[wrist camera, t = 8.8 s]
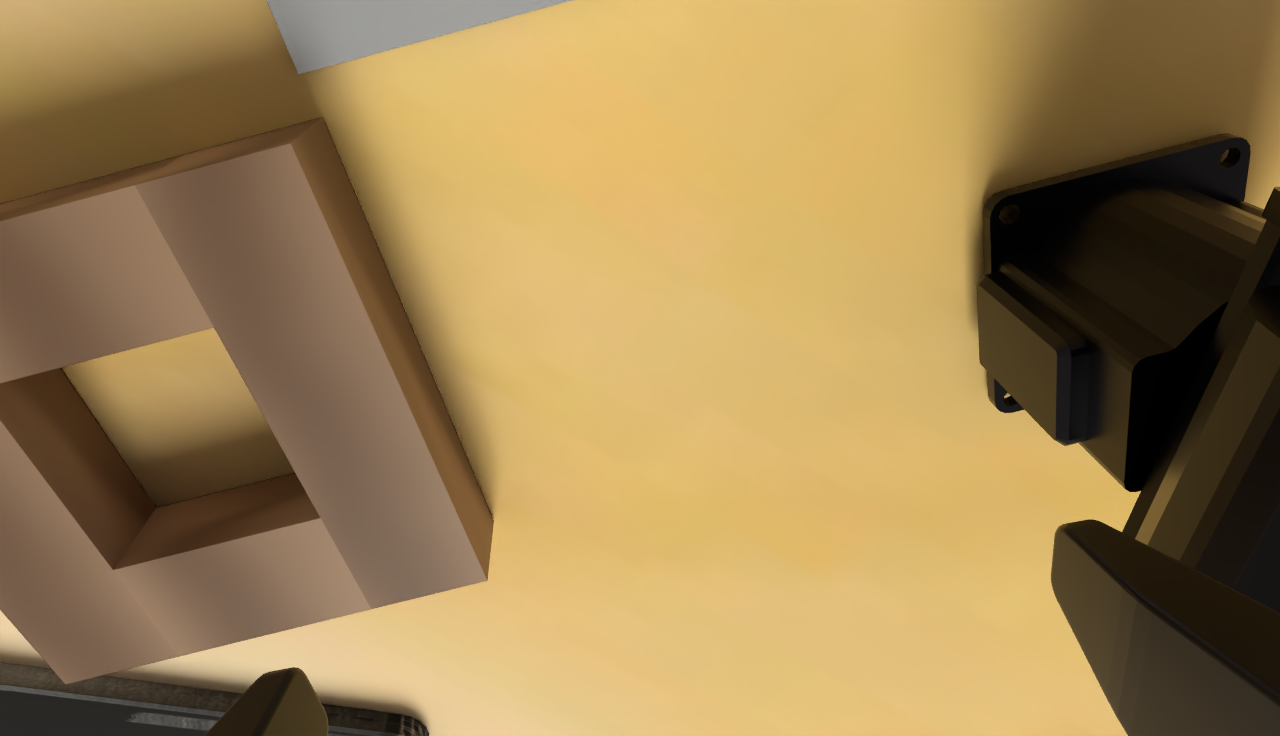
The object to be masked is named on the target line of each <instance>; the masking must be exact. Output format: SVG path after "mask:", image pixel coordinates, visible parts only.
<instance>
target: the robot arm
mask: <svg viewBox="0 0 1280 736" xmlns="http://www.w3.org/2000/svg"><path fill="white" fill-rule="evenodd" d="M1228 149H1229V153H1228V155H1227V157H1226V158H1225V159H1224V161H1222V162H1220V158H1221V156H1222V154H1223V153H1224V152H1225V151H1226V150H1228ZM1249 160H1250V145H1249V143H1248V142H1247V140H1245V139H1243V138H1240V137H1237V136H1234V135H1231V134H1220V135H1216V136H1212V137H1208V138H1204V139H1201V140H1197V141H1193V142H1189V143H1185V144H1181V145H1177V146H1173V147H1170V148H1166V149H1162V150H1158V151H1154V152H1150V153H1146V154H1142V155H1138V156H1135V157H1131V158H1127V159H1123V160H1119V161H1115V162H1111V163H1107V164H1104V165H1100V166H1096V167H1092V168H1088V169H1084V170H1080V171H1076V172H1073V173H1069V174H1065V175H1061V176H1057V177H1053V178H1049V179H1045V180H1042V181H1038V182H1034V183H1030V184H1026V185H1022V186H1018V187H1014V188H1011V189H1007V190H1003V191H1000V192H998V193H996V194H994V195H993V196H992V197H990V198H989V199H988V201H987V202H986V204H985V206H984V209H983V248H984V275H983V276H982V277H981V279H980V281H979V283H978V285H977V302H978V330H979V358H980V363H981V365H982V366H983V367H984V368H985V369H986V370H987V377H988V397H989V400H990V401H991V402H992V403H993V405H994V406H995V407H996V408H997V409H998V410H999V411H1001V412H1004V413H1012V412H1016V411H1020V410H1024V409H1025V410H1026V411H1027V412H1028V413H1029V415H1030V416H1031V417H1032V418H1033V419H1034V420H1035V421H1036V422H1037V423H1038V424H1039V425H1040V426H1041V427H1042V428H1043V429H1044V430H1045V431H1046V432H1047V433H1048V434H1049V435H1050V436H1051V437H1052V438H1053V439H1054V440H1056V441H1057V442H1059V443H1061V444H1062V445H1064V446H1067V445H1071V444H1075V443H1079V444H1080V445H1081V446H1082V447H1083V448H1084V449H1085V450H1086V451H1087V452H1088V453H1089V454H1090V455H1091V456H1092V457H1093V458H1094V459H1095V460H1096V461H1097V462H1098V463H1099V464H1100V465H1101V466H1103V467H1104V468H1105V469H1106V470H1107V471H1108V472H1109V473H1110V474H1111V475H1112V476H1113V477H1114V478H1115V479H1116V480H1117V481H1118V482H1119V483H1120V484H1121V485H1122V486H1123V487H1124V488H1125V489H1126V490H1128V491H1129V492H1138V491H1141V493H1140V495H1139V497H1138V499H1137V501H1136V503H1135V506H1134V508H1133V510H1132V512H1131V514H1130V516H1129V519H1128V521H1127V523H1126V525H1125V527H1124V529H1123V532H1120V531H1118V530H1116V529H1114V528H1112V527H1110V526H1108V525H1106V524H1104V523H1102V522H1100V521H1097V520H1084V521H1078V522H1073V523H1067V524H1063V525H1061V526H1059V527H1058V528H1057V530H1056V532H1055V538H1054V548H1053V559H1052V570H1051V583H1052V587H1053V591H1054V594H1055V596H1056V599H1057V601H1058V603H1059V605H1060V607H1061V609H1062V611H1063V613H1064V615H1065V617H1066V619H1067V621H1068V623H1069V625H1070V626H1071V628H1072V630H1073V632H1074V634H1075V636H1076V638H1077V640H1078V642H1079V644H1080V646H1081V648H1082V650H1083V652H1084V654H1085V656H1086V658H1087V660H1088V662H1089V664H1090V666H1091V668H1092V670H1093V672H1094V674H1095V676H1096V678H1097V680H1098V682H1099V684H1100V686H1101V688H1102V690H1103V692H1104V694H1105V696H1106V698H1107V700H1108V702H1109V703H1110V705H1111V707H1112V709H1113V711H1114V713H1115V715H1116V717H1117V718H1118V720H1119V722H1120V723H1121V725H1122V726H1123V728H1124V730H1125V731H1126V733H1127V735H1128V736H1280V187H1274V189H1273V191H1272V194H1271V196H1270V198H1269V200H1268V202H1267V204H1266V207H1265V209H1261V208H1259V207H1256V206H1254V205H1251V204H1249V203H1246V202H1244V198H1245V190H1246V183H1247V175H1248V168H1249ZM1008 205H1012V209H1011V213H1010V214H1009V215H1008V216H1007V217H1006V218H1004V219H1000V218H999V217H1000V213H1001V211H1002V210H1003V208H1004V207H1006V206H1008ZM1007 392H1008V393H1009V394H1010V395H1011V396H1009V397H1007V398H1004V396H1005V395H1006V393H1007ZM204 736H328V719H327V715H326V711H325V709H324V707H323V705H322V703H321V702H320V700H319V698H318V696H317V694H316V693H315V691H314V689H313V687H312V685H311V683H310V682H309V680H308V678H307V676H306V675H305V673H304V672H303V671H302V670H301V669H299V668H294V667H293V668H288V669H282V670H277V671H272V672H268V673H265V674H263V675H262V676H260V677H259V678H258V679H257V680H256V681H255V682H254V683H253V684H252V685H251V686H250V687H249V689H248V690H247V691H246V692H245V693H244V694H243V695H242V696H241V697H240V698H239V699H238V700H237V701H236V702H235V703H234V704H233V705H232V706H231V708H230V709H229V710H228V711H227V712H226V713H225V714H224V715H223V716H222V717H221V718H220V719H219V720H218V721H217V722H216V723H215V724H214V725H213V726H212V728H211V729H210V730H209V731H208V732H207V733H206V734H205V735H204Z"/></svg>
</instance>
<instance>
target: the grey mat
mask: <svg viewBox="0 0 1280 736" xmlns="http://www.w3.org/2000/svg"><path fill="white" fill-rule="evenodd" d="M568 1H572V0H267V2H268V5H269V7H270V10H271V12H272V14H273V17H274V19H275V21H276V24H277V26H278V28H279V31H280V33H281V35H282V38H283V40H284V42H285V45H286V47H287V49H288V52H289V54H290V56H291V59H292V61H293V63H294V66H295V68H296V70H297V73H298V75H299V74H303V73H306V72H310V71H314V70H317V69H321V68H325V67H329V66H332V65H336V64H340V63H343V62H347V61H351V60H354V59H358V58H362V57H365V56H369V55H373V54H376V53H380V52H384V51H387V50H391V49H395V48H399V47H402V46H406V45H410V44H413V43H417V42H421V41H424V40H428V39H432V38H435V37H439V36H443V35H446V34H450V33H454V32H457V31H461V30H465V29H468V28H472V27H476V26H480V25H483V24H487V23H491V22H494V21H498V20H502V19H505V18H509V17H513V16H516V15H520V14H524V13H527V12H531V11H535V10H538V9H542V8H546V7H549V6H553V5H557V4H561V3H564V2H568Z"/></svg>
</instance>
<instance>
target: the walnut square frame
mask: <svg viewBox="0 0 1280 736" xmlns="http://www.w3.org/2000/svg"><path fill="white" fill-rule="evenodd" d="M210 328H215V330H216V332H217V334H218V335H219V337H220V339H221V341H222V343H223V344H224V346H225V348H226V350H227V351H228V353H229V355H230V357H231V359H232V360H233V362H234V364H235V366H236V368H237V369H238V371H239V373H240V375H241V377H242V378H243V380H244V382H245V384H246V385H247V387H248V389H249V391H250V393H251V394H252V396H253V398H254V400H255V402H256V403H257V405H258V407H259V409H260V411H261V412H262V414H263V416H264V418H265V419H266V421H267V423H268V425H269V427H270V428H271V430H272V432H273V434H274V436H275V437H276V439H277V441H278V443H279V445H280V446H281V448H282V450H283V452H284V453H285V455H286V457H287V459H288V461H289V462H290V464H291V466H292V468H293V470H294V471H295V473H293V474H289V475H285V476H281V477H277V478H273V479H269V480H265V481H261V482H258V483H254V484H250V485H246V486H242V487H238V488H234V489H230V490H226V491H222V492H218V493H214V494H210V495H206V496H202V497H198V498H194V499H190V500H186V501H182V502H179V503H175V504H171V505H167V506H163V507H159V508H155V506H154V505H153V503H152V502H151V500H150V499H149V498H148V496H147V495H146V493H145V492H144V490H143V489H142V487H141V486H140V484H139V483H138V481H137V480H136V478H135V477H134V476H133V474H132V473H131V471H130V470H129V468H128V467H127V465H126V464H125V462H124V461H123V459H122V458H121V457H120V455H119V454H118V452H117V451H116V449H115V448H114V446H113V445H112V443H111V442H110V440H109V439H108V437H107V436H106V435H105V433H104V432H103V430H102V429H101V427H100V426H99V424H98V423H97V421H96V420H95V418H94V417H93V416H92V414H91V413H90V411H89V410H88V408H87V407H86V405H85V404H84V402H83V401H82V399H81V398H80V397H79V395H78V394H77V392H76V391H75V389H74V388H73V386H72V385H71V383H70V382H69V380H68V379H67V377H66V376H65V375H64V373H63V372H62V370H61V369H60V368H61V367H64V366H68V365H72V364H76V363H80V362H84V361H87V360H91V359H95V358H99V357H103V356H107V355H110V354H114V353H118V352H122V351H126V350H130V349H133V348H137V347H141V346H145V345H149V344H153V343H156V342H160V341H164V340H168V339H172V338H176V337H179V336H183V335H187V334H191V333H195V332H199V331H202V330H206V329H210ZM493 523H494V520H493V518H492V516H491V513H490V511H489V509H488V506H487V504H486V502H485V499H484V497H483V494H482V492H481V490H480V487H479V485H478V483H477V480H476V478H475V476H474V473H473V471H472V468H471V466H470V464H469V461H468V459H467V457H466V454H465V452H464V450H463V447H462V445H461V443H460V440H459V438H458V435H457V433H456V431H455V428H454V426H453V424H452V421H451V419H450V417H449V414H448V412H447V409H446V407H445V405H444V402H443V400H442V398H441V395H440V393H439V391H438V388H437V386H436V383H435V381H434V379H433V376H432V374H431V372H430V369H429V367H428V365H427V362H426V360H425V358H424V355H423V353H422V350H421V348H420V346H419V343H418V341H417V339H416V336H415V334H414V332H413V329H412V327H411V324H410V322H409V320H408V317H407V315H406V313H405V310H404V308H403V306H402V303H401V301H400V298H399V296H398V294H397V291H396V289H395V287H394V284H393V282H392V280H391V277H390V275H389V273H388V270H387V268H386V265H385V263H384V261H383V258H382V256H381V254H380V251H379V249H378V247H377V244H376V242H375V239H374V237H373V235H372V232H371V230H370V228H369V225H368V223H367V221H366V218H365V216H364V213H363V211H362V209H361V206H360V204H359V202H358V199H357V197H356V195H355V192H354V190H353V188H352V185H351V183H350V180H349V178H348V176H347V173H346V171H345V169H344V166H343V164H342V162H341V159H340V157H339V154H338V152H337V150H336V147H335V145H334V143H333V140H332V138H331V136H330V133H329V131H328V128H327V126H326V124H325V121H324V119H323V117H322V118H318V119H315V120H311V121H307V122H303V123H300V124H296V125H292V126H289V127H285V128H281V129H277V130H274V131H270V132H266V133H263V134H259V135H255V136H251V137H248V138H244V139H240V140H237V141H233V142H229V143H225V144H222V145H218V146H214V147H211V148H207V149H203V150H199V151H196V152H192V153H188V154H185V155H181V156H177V157H173V158H170V159H166V160H162V161H159V162H155V163H151V164H148V165H144V166H140V167H136V168H133V169H129V170H125V171H122V172H118V173H114V174H110V175H107V176H103V177H99V178H96V179H92V180H88V181H84V182H81V183H77V184H73V185H70V186H66V187H62V188H58V189H55V190H51V191H47V192H44V193H40V194H36V195H32V196H29V197H25V198H21V199H18V200H14V201H10V202H6V203H3V204H0V610H1V611H2V612H3V613H4V615H5V616H6V617H7V618H8V619H9V620H10V621H11V623H12V624H13V625H14V626H15V627H16V628H17V629H18V631H19V632H20V633H21V634H22V635H23V636H24V637H25V639H26V640H27V641H28V642H29V643H30V644H31V645H32V647H33V648H34V649H35V650H36V651H37V652H38V653H39V655H40V656H41V657H42V658H43V659H44V660H45V661H46V663H47V664H48V665H49V666H50V667H51V668H52V669H53V671H54V672H55V673H56V674H57V675H58V676H59V677H60V679H61V680H62V681H63V682H64V683H65V684H69V683H73V682H77V681H81V680H85V679H89V678H94V677H98V676H102V675H106V674H110V673H114V672H118V671H122V670H126V669H130V668H134V667H138V666H142V665H146V664H150V663H154V662H159V661H163V660H167V659H171V658H175V657H179V656H183V655H187V654H191V653H195V652H199V651H203V650H207V649H211V648H215V647H219V646H224V645H228V644H232V643H236V642H240V641H244V640H248V639H252V638H256V637H260V636H264V635H268V634H272V633H276V632H280V631H285V630H289V629H293V628H297V627H301V626H305V625H309V624H313V623H317V622H321V621H325V620H329V619H333V618H337V617H341V616H345V615H350V614H354V613H358V612H362V611H366V610H370V609H374V608H378V607H382V606H386V605H390V604H394V603H398V602H402V601H406V600H410V599H415V598H419V597H423V596H427V595H431V594H435V593H439V592H443V591H447V590H451V589H455V588H459V587H463V586H467V585H471V584H475V583H480V582H484V581H487V579H488V569H489V560H490V551H491V542H492V532H493Z"/></svg>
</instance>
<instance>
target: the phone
mask: <svg viewBox="0 0 1280 736" xmlns="http://www.w3.org/2000/svg"><path fill="white" fill-rule="evenodd" d="M242 695H243V694H240V693H232V692H224V691H216V690H209V689H201V688H193V687H185V686H178V685H170V684H162V683H154V682H147V681H139V680H131V679H124V678H116V677H108V676H98V677H94V678H89V679H85V680H81V681H77V682H73V683H69V684H65V683H64V682H63V681H62V680H61V679H60V677H59V676H58V675H57V674H56V673H55V672H54V671H53V669H46V668H38V667H31V666H23V665H15V664H7V663H0V736H204V735H205V734H206V733H207V732H208V731H209V730H210V729H211V728H212V726H213V725H214V724H215V723H216V722H217V721H218V720H219V719H220V718H221V717H222V716H223V715H224V714H225V713H226V712H227V711H228V710H229V709H230V708H231V706H232V705H233V704H234V703H235V702H236V701H237V700H238V699H239V698H240V697H241V696H242ZM322 705H323V707H324V709H325V711H326V715H327V719H328V736H429V733H428V730H427V728H426V727H425V726H424V725H423V724H422V723H421V722H420V721H418V720H416V719H414V718H413V717H410V716H406V715H402V714H395V713H387V712H379V711H371V710H364V709H356V708H348V707H340V706H333V705H325V704H322Z"/></svg>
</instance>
